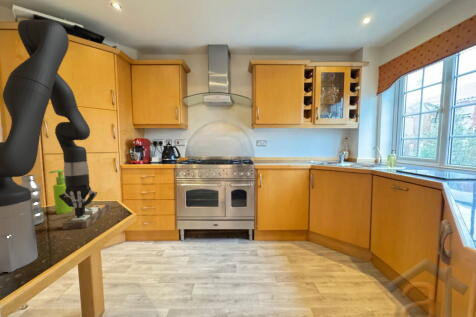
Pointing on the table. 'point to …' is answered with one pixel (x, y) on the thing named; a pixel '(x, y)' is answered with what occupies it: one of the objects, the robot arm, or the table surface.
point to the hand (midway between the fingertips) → (80, 216)
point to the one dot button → (99, 206)
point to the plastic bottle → (34, 197)
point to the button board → (88, 221)
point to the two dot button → (80, 218)
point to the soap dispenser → (58, 190)
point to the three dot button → (91, 210)
